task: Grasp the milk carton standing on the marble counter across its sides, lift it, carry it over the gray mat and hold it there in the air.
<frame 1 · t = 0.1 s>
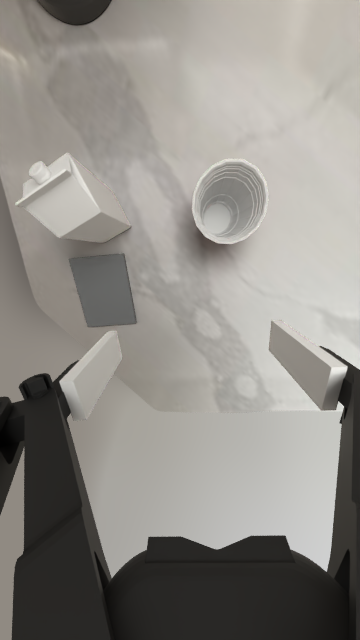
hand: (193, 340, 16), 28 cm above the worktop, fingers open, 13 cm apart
milk carton: (108, 218, 38), on the worktop
plastic cup: (216, 218, 37), on the worktop
gray mat: (105, 292, 43), on the worktop
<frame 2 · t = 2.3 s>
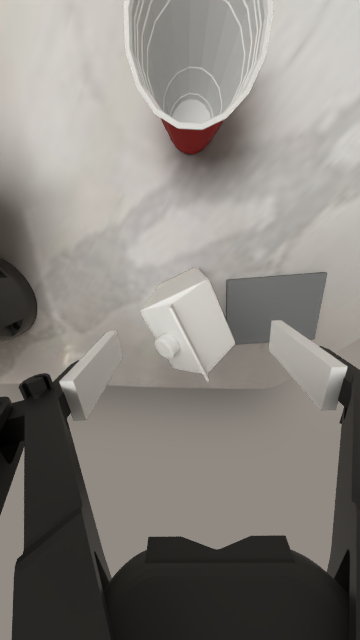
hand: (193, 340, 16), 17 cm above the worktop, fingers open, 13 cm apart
milk carton: (185, 294, 32), on the worktop
plastic cup: (189, 130, 24), on the worktop
gray mat: (271, 310, 33), on the worktop
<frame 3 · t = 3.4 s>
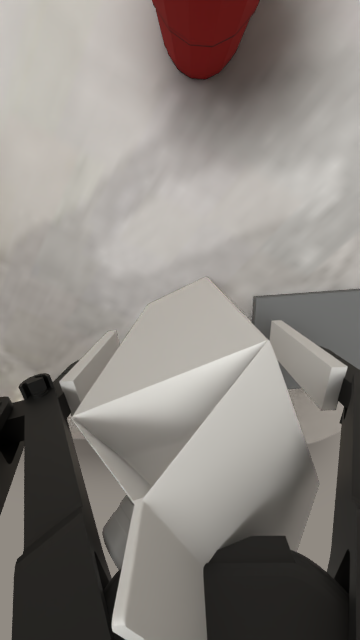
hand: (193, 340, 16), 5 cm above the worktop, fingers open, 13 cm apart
milk carton: (190, 317, 21), on the worktop
plastic cup: (199, 32, 13), on the worktop
gray mat: (319, 341, 22), on the worktop
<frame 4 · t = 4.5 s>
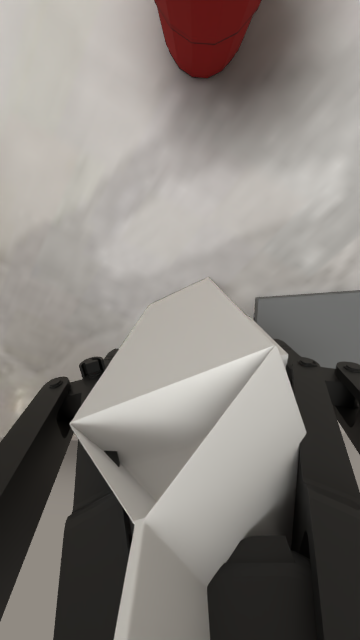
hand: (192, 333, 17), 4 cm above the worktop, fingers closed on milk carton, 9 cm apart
milk carton: (191, 318, 21), on the worktop, touching gripper
plastic cup: (201, 30, 13), on the worktop
gray mat: (322, 343, 21), on the worktop
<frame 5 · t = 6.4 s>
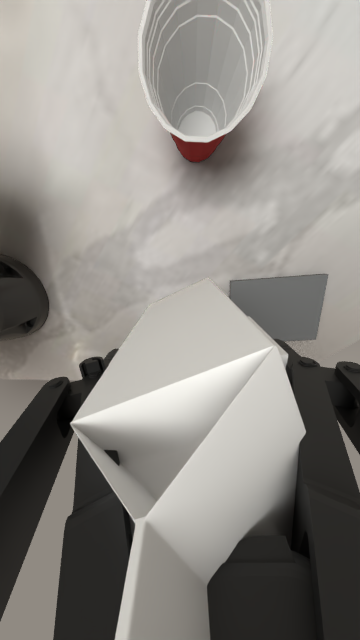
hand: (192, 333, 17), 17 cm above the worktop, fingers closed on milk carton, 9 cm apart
milk carton: (191, 318, 21), point 13 cm above the worktop, touching gripper
plastic cup: (195, 139, 26), on the worktop
gray mat: (273, 310, 34), on the worktop
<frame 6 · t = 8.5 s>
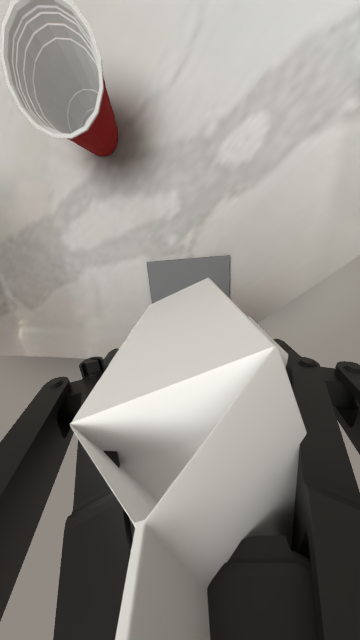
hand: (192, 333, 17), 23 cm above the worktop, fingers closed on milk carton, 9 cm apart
milk carton: (191, 318, 21), point 18 cm above the worktop, touching gripper
plastic cup: (100, 137, 30), on the worktop
gray mat: (189, 289, 38), on the worktop
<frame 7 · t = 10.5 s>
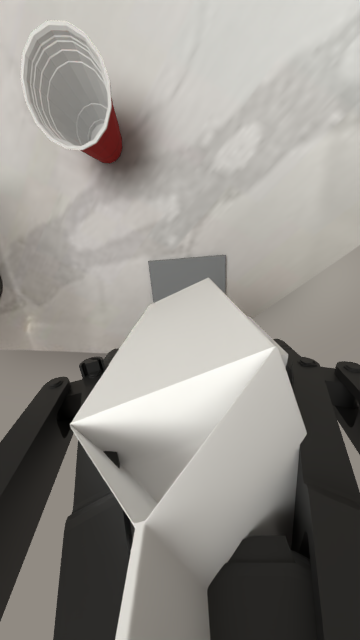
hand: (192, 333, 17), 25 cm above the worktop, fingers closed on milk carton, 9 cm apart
milk carton: (191, 318, 21), point 21 cm above the worktop, touching gripper
plastic cup: (106, 145, 33), on the worktop
gray mat: (188, 286, 41), on the worktop
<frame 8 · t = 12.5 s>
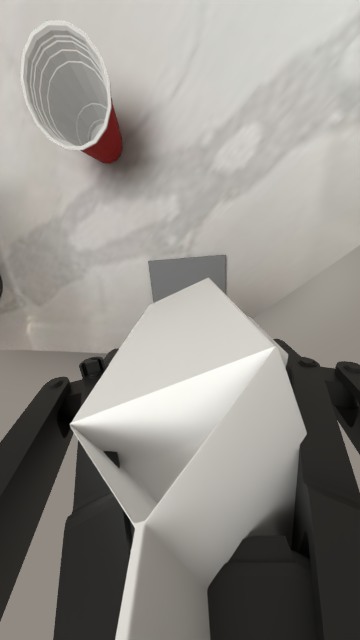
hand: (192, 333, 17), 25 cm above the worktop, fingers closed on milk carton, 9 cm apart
milk carton: (191, 318, 21), point 21 cm above the worktop, touching gripper
plastic cup: (106, 145, 33), on the worktop
gray mat: (188, 286, 41), on the worktop
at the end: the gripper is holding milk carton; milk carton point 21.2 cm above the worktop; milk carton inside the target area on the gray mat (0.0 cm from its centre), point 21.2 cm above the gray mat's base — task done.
